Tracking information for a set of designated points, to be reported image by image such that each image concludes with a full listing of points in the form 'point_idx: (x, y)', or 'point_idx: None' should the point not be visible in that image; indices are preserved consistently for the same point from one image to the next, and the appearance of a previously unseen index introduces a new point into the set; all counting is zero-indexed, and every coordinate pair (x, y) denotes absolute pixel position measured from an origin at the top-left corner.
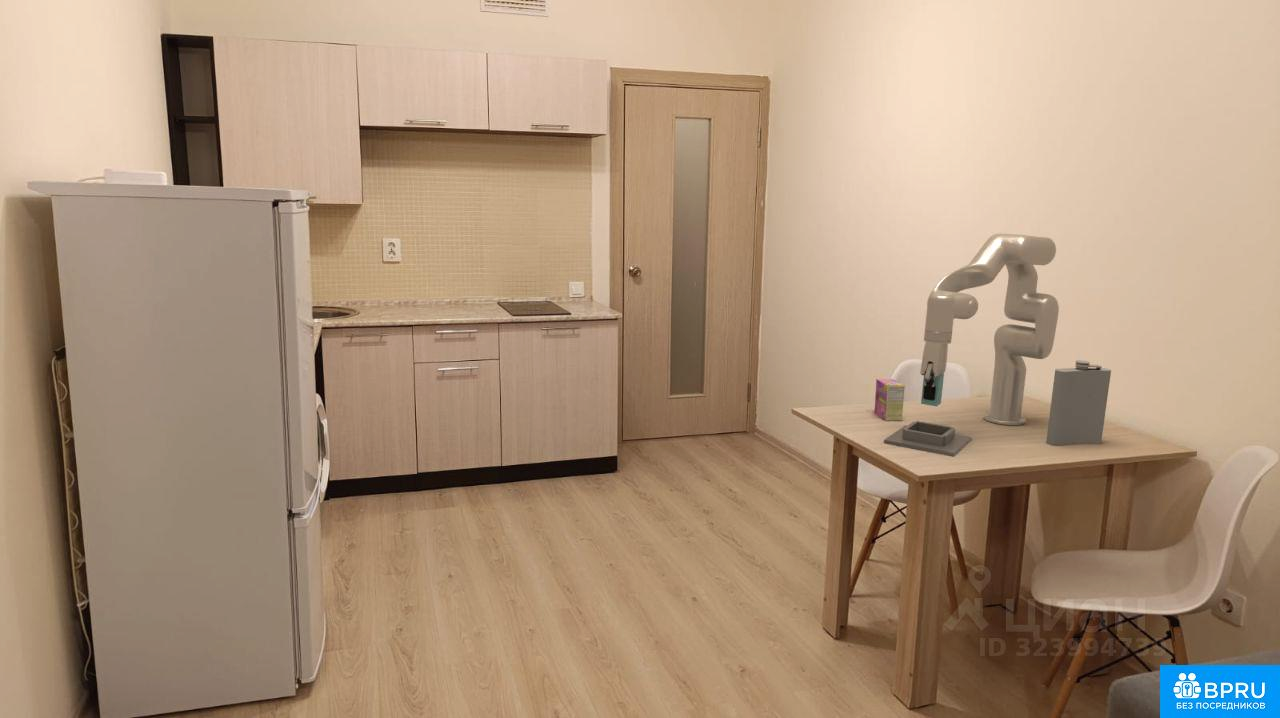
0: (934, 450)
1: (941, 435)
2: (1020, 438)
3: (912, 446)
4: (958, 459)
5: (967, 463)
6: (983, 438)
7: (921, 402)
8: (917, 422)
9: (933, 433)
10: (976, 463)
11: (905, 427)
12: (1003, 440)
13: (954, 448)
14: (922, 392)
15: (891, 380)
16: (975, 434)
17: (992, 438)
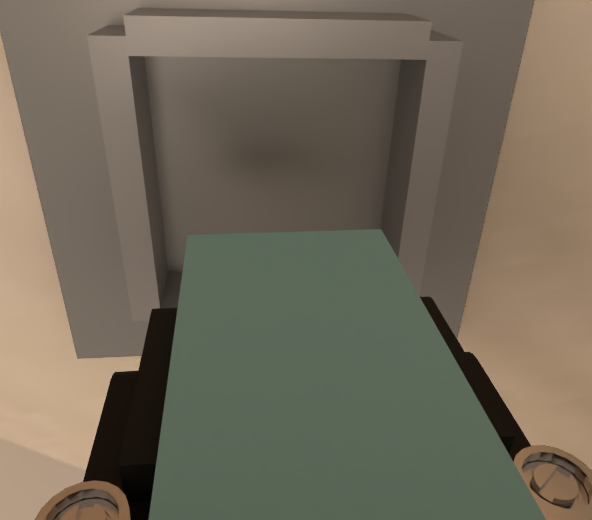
0: (59, 264)
1: (157, 307)
2: (581, 455)
3: (26, 130)
4: (54, 372)
5: (27, 413)
6: (511, 360)
7: (187, 248)
8: (425, 59)
9: (390, 171)
10: (63, 436)
11: (174, 23)
12: (517, 422)
13: None
14: (174, 334)
15: None
16: (572, 317)
17: (530, 386)
